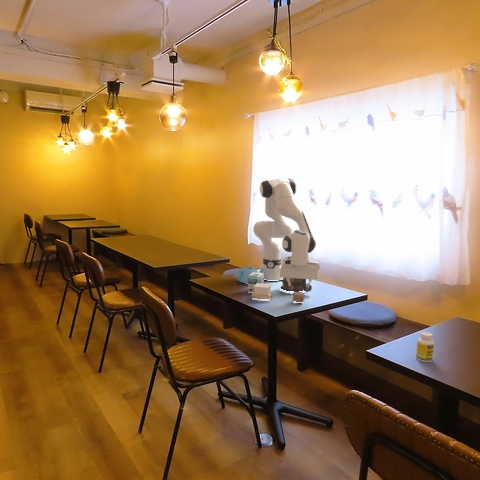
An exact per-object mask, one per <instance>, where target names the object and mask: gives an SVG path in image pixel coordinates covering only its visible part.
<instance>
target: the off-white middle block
mask: <svg viewBox="0 0 480 480" xmlns="http://www.w3.org/2000/svg"><path fill="white" fill-rule="evenodd" d="M271 288H272V284H271V283H264V284H261V283H256V285H255V286H254V294H263V295H269V293H270V291H272V290H271Z"/></svg>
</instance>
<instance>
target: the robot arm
mask: <svg viewBox="0 0 480 480" xmlns="http://www.w3.org/2000/svg"><path fill="white" fill-rule="evenodd" d="M296 192H297V183H296V181H295V180H294V178H277V179H276V178H274V179H268V180H264V181H262V182H261V183H260V186H259V193H260V195H261V197H262V198H264V199H265V200H264V201H265V202H264V205H265V206H264V212H265V215H266V216H267V217H268V218H270V219H271V220H260V221H257V222H255V224H254V225H253V227H252V229H253V230H252V231H253V233H254V235H255V237H257V238H258V239H259V240H260V242H261V244H262V246H263V258H262V265H261V266H260V270H261V269H264V271H263V273H264V279H266V280H280V279H282V278H283V277H284V278H287V282H288V286H291V283H292V282H290V281H289V279H290V278H298V279H306V280H308V283H306V287H308V288H309V284H310V285H311V283H312V280H313V281H314V280H315V281H316V280H318V279H319V270H320V267H321V265H320V263H318V262H317V261H309V254H310V253H312V252H313V251H314V250H315V249H316V245H317V244H316V239H315V237H314V235H313V234H312V231H311V228H310V226H309V223H308V220H307V218H306V216H305V214H304V212H303V209H301V208H300V207H299V206H298V204H297V203H296V200H295V196H294V195H295V194H297V193H296ZM286 218H288V219H289V220H290V219H291V220H292V221H294V222H295V223H296V224H297V226H298V229H295V230H294V227H293V225H292V223H291V222H289V221H288V220H287V219H286ZM272 239H282V244H281V245H282V248H283V250H284V251H285V252H287V253H291V256H289V257H290V258H286V257H285V258H284V259H283V261H282V259H281V258H282V257H281V254H282V253H281V251H282V249H281V245H279V244H278V243H276V242H274V241H273V240H272ZM260 270H259V271H260Z"/></svg>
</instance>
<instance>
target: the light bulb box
mask: <svg viewBox="0 0 480 480" xmlns="http://www.w3.org/2000/svg"><path fill="white" fill-rule="evenodd" d="M264 282H265V281H264V273H259V271H258V272H253V273H251V274H250V275H248V285H247V292H248V291H249V292H253V291H254V286H255V285H256V283H261V284H265V283H264Z"/></svg>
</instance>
